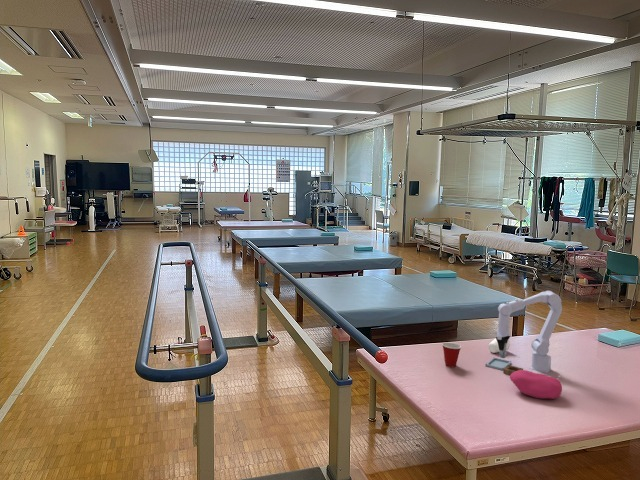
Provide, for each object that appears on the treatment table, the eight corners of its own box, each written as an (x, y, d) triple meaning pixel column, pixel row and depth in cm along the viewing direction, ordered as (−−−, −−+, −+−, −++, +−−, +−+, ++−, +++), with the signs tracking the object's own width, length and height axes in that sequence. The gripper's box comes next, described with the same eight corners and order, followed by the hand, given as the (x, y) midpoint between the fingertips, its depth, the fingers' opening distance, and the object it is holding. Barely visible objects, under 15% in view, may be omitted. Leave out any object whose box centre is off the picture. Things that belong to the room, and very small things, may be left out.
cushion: (503, 388, 231) (506, 369, 229) (521, 379, 243) (524, 361, 241) (550, 409, 214) (554, 389, 212) (566, 399, 226) (570, 380, 224)
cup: (501, 348, 277) (512, 342, 283) (488, 337, 283) (499, 331, 289) (495, 359, 283) (506, 353, 289) (482, 348, 289) (493, 342, 295)
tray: (511, 364, 266) (511, 361, 266) (503, 371, 255) (503, 368, 255) (493, 360, 272) (493, 357, 272) (485, 366, 261) (485, 364, 261)
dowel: (507, 357, 260) (507, 343, 259) (504, 358, 258) (504, 344, 257) (501, 355, 263) (501, 341, 262) (498, 356, 260) (498, 343, 260)
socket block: (522, 373, 253) (523, 368, 252) (518, 377, 246) (519, 372, 246) (507, 369, 258) (508, 364, 257) (503, 374, 251) (503, 369, 251)
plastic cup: (465, 366, 262) (466, 345, 261) (452, 370, 256) (453, 349, 254) (449, 360, 271) (450, 340, 269) (437, 364, 264) (437, 343, 263)
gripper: (500, 321, 267) (498, 344, 268) (492, 326, 255) (490, 350, 257) (513, 323, 262) (511, 346, 264) (505, 329, 251) (504, 353, 252)
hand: (502, 349), depth 260 cm, fingers closed on dowel, 3 cm apart
